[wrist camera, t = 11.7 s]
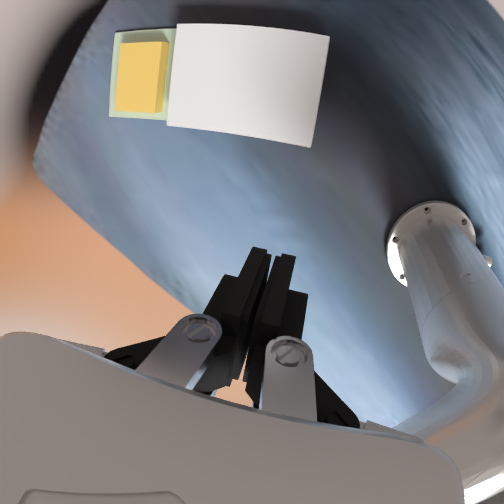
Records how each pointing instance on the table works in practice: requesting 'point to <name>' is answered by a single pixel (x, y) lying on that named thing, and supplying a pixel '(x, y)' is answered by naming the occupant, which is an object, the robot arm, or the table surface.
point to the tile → (141, 77)
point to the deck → (247, 81)
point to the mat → (169, 37)
